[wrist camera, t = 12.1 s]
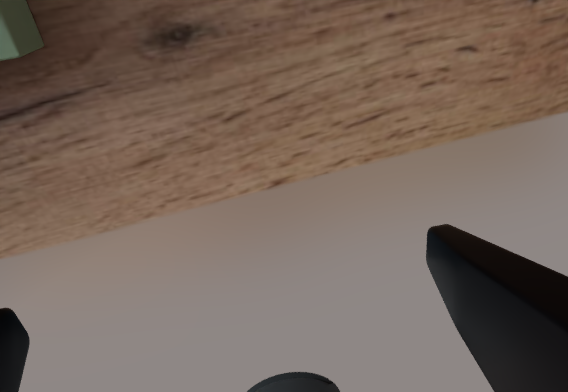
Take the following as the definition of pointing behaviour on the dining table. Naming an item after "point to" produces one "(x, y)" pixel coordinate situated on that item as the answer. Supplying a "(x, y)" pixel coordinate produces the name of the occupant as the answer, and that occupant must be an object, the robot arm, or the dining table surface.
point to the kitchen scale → (17, 30)
